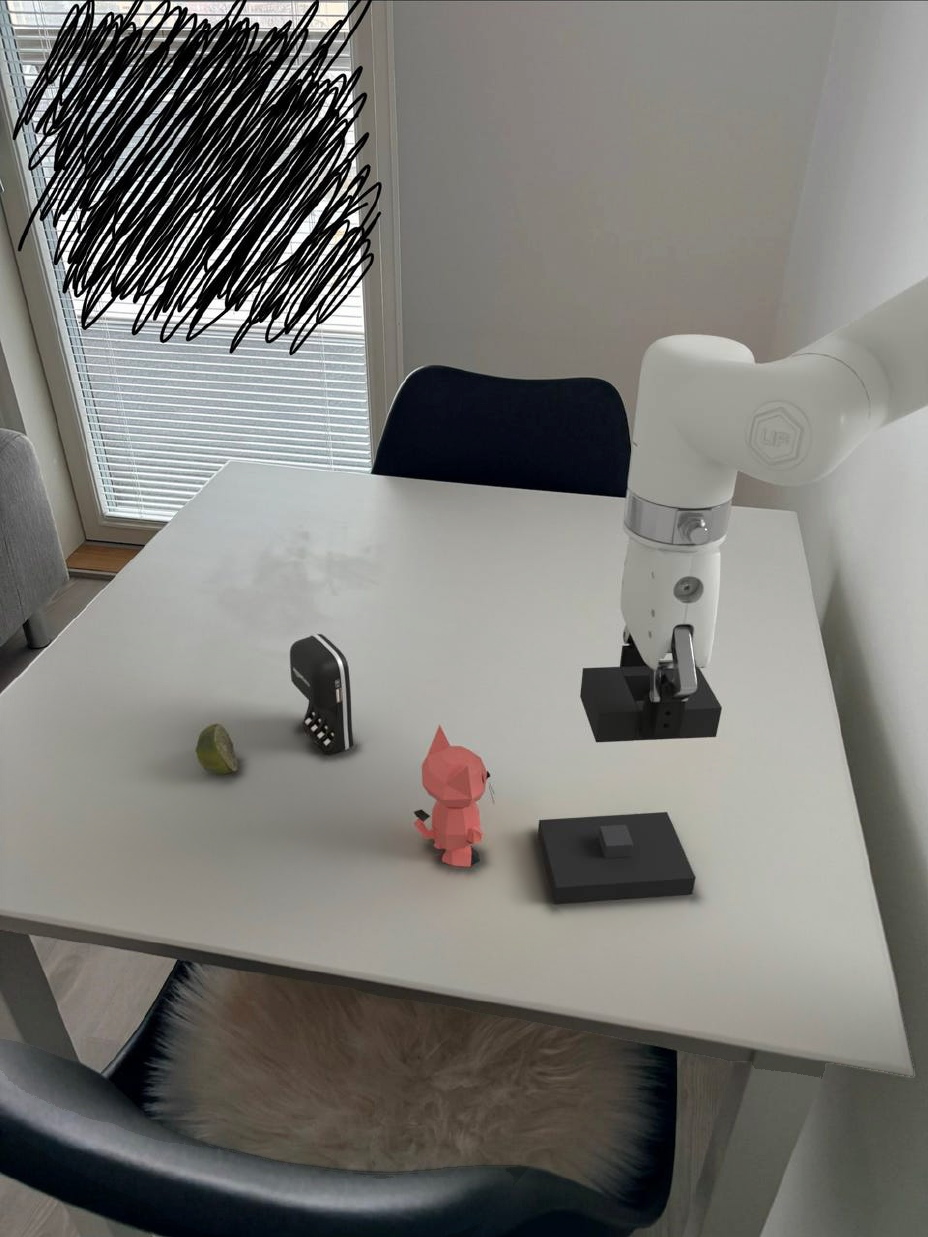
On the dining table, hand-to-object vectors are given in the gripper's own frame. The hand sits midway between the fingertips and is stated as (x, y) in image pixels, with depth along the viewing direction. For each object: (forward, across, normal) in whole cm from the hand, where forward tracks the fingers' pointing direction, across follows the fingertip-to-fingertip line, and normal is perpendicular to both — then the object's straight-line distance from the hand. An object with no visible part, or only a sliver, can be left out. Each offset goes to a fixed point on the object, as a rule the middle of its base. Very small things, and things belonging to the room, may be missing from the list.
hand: (647, 708), depth 73 cm
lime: (+15, +12, +39) cm, 43 cm away
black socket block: (+1, 0, 0) cm, 1 cm away
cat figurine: (+15, -1, +16) cm, 22 cm away
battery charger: (+15, +16, +29) cm, 36 cm away
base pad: (+14, -3, +2) cm, 15 cm away
